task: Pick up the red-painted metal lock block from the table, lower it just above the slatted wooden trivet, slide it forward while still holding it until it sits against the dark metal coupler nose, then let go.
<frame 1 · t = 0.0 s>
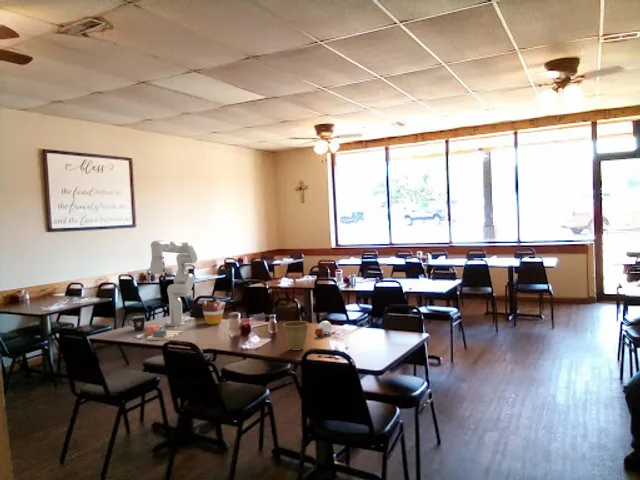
hand: (158, 281, 363), 37 cm above the table, tool pointing down, fingers open, 9 cm apart
potion bottle: (323, 335, 338), on the table
bucket of meat: (213, 323, 389), on the table
lock block: (153, 334, 357), on the table
plant pot: (296, 349, 303), on the table
coupler nose: (159, 338, 342), resting on slatted wooden trivet
slatted wooden trivet: (165, 336, 349), on the table
coffee mug: (137, 330, 371), on the table
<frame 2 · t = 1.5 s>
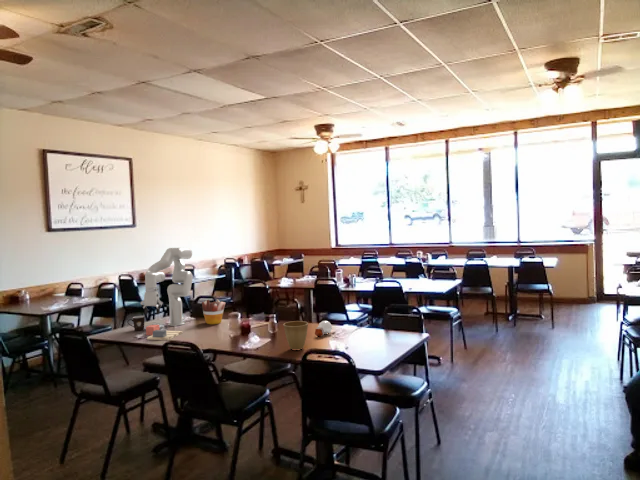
hand: (151, 313, 356), 15 cm above the table, tool pointing down, fingers open, 9 cm apart
nothing on the table moved.
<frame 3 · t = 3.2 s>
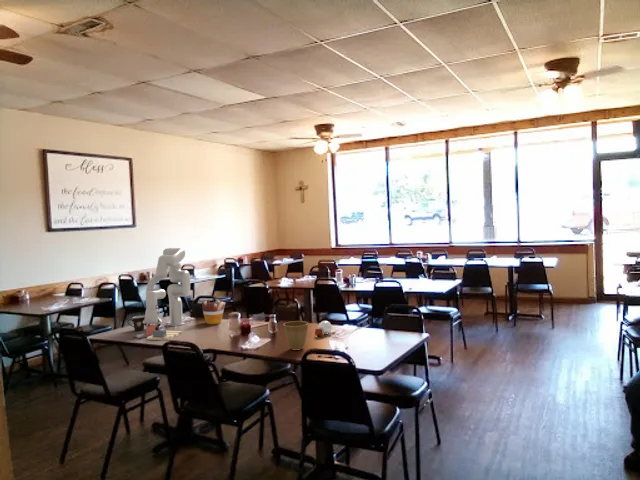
hand: (152, 332, 357), 1 cm above the table, tool pointing down, fingers closed on lock block, 6 cm apart
lock block: (153, 333, 357), on the table, touching gripper
everything else where it was.
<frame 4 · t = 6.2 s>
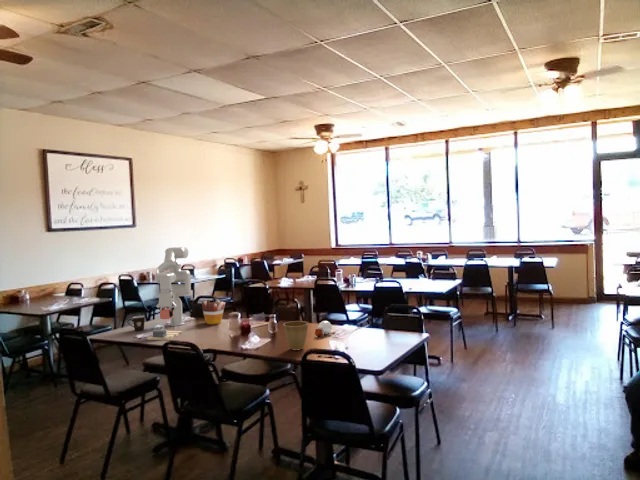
hand: (166, 316, 351), 13 cm above the table, tool pointing down, fingers closed on lock block, 6 cm apart
lock block: (166, 318, 351), point 12 cm above the table, touching gripper
everything else where it was.
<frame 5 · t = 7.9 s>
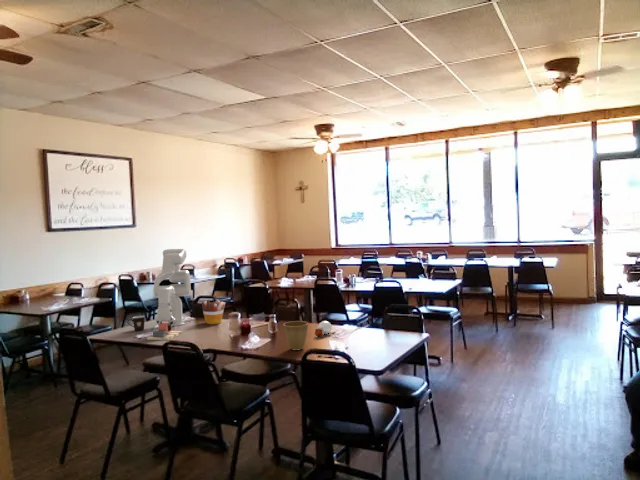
hand: (165, 330, 349), 4 cm above the table, tool pointing down, fingers closed on lock block, 6 cm apart
lock block: (165, 331, 349), point 3 cm above the table, touching gripper
everything else where it was.
when the fingers open (4 cm above the table, at t = 8.6 s): lock block drops 1 cm, resting on slatted wooden trivet.
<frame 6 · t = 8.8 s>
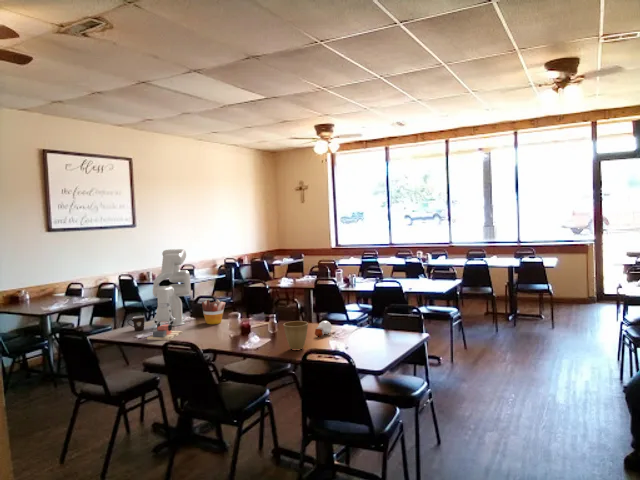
hand: (164, 330, 348), 4 cm above the table, tool pointing down, fingers open, 8 cm apart
lock block: (164, 334, 348), point 1 cm above the table, touching slatted wooden trivet
everything else where it was.
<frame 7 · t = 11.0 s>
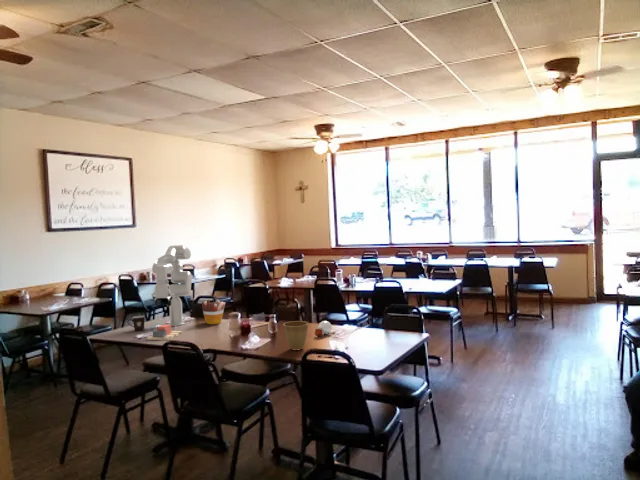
hand: (163, 305, 356), 20 cm above the table, tool pointing down, fingers open, 9 cm apart
nothing on the table moved.
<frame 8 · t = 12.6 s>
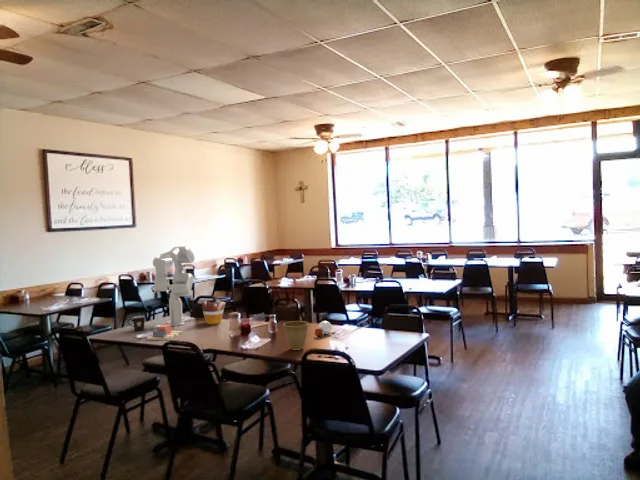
hand: (162, 299, 361), 24 cm above the table, tool pointing down, fingers open, 9 cm apart
nothing on the table moved.
at the end: lock block 0.3 cm off-centre on the slatted wooden trivet, point 1.5 cm above the slatted wooden trivet's base; lock block tilted 0°; the gripper is holding nothing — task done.
